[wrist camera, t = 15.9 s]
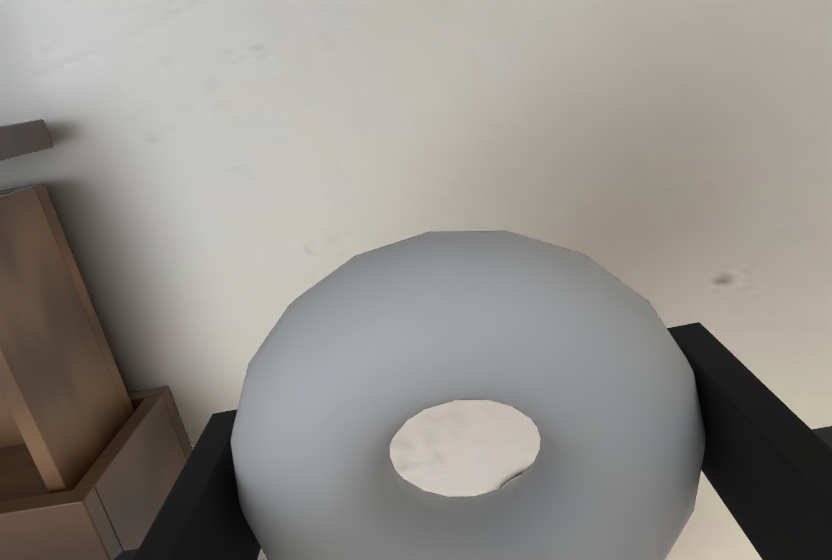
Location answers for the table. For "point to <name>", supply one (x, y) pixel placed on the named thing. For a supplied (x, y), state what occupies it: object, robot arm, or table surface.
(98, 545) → the cabinet
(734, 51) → the table surface
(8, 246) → the drawer
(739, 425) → the robot arm
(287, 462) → the donut
